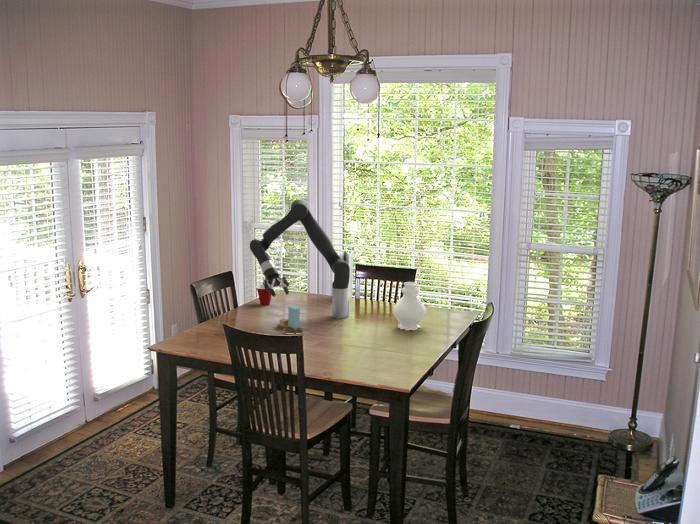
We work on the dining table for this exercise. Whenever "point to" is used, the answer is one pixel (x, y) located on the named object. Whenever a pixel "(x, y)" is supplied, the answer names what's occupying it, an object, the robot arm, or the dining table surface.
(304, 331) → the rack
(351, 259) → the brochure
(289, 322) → the teal rectangular block
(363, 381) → the dining table surface
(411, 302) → the decorative vase
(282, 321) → the offcut top
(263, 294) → the plastic cup
